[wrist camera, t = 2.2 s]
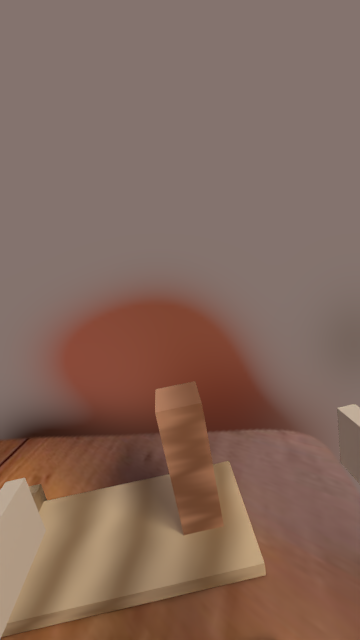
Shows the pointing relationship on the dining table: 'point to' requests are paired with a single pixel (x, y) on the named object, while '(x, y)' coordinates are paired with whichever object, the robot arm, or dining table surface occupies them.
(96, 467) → the dining table surface
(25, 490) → the robot arm
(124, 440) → the dining table surface
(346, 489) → the dining table surface
